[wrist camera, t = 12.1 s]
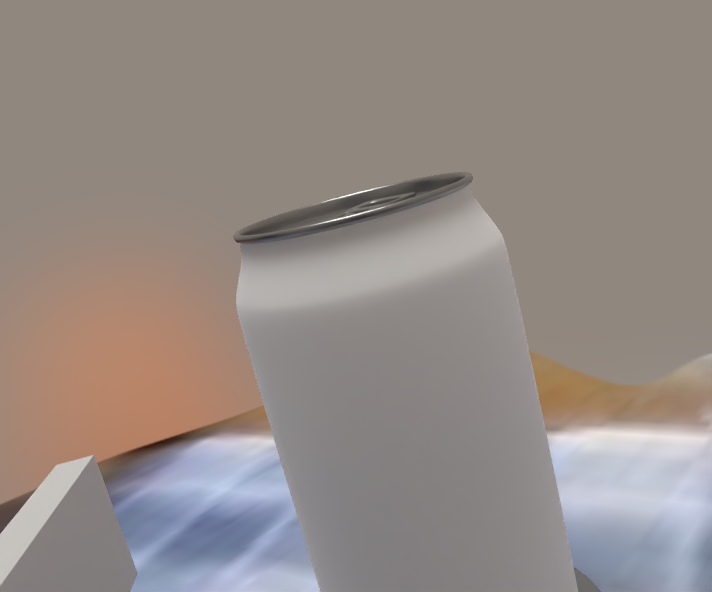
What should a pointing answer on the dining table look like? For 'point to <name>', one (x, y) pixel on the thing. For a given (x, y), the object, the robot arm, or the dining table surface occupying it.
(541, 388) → the dining table surface
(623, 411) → the dining table surface
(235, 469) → the dining table surface
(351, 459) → the can
